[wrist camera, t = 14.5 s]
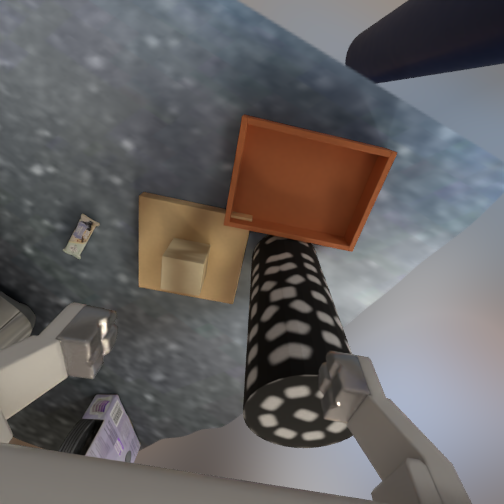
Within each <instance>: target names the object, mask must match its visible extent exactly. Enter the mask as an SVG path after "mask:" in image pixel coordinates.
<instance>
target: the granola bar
mask: <svg viewBox="0 0 504 504" xmlns="http://www.w3.org/2000/svg"><path fill="white" fill-rule="evenodd" d="M99 224H100V223H98V222H95V221H94V220H92V219H90V218H89V217H87V216H86V215H84V214H82V215H81V219H80V220H79V222H78V224H77V226H76V228H75V230H74V232H73V234H72V236H71V238H70V240H69V242H68V244H67V246H66V248H65V249H63V251H64V252H66V253H68V254H71V255H73V256H74V257H76V258H78V259H80V258H81V256H80V254H81V252H82V251H83V249H84V247H85V245H86V243H87V242H88V240H89V238H90V236H91V234H92V232H93V230H94V229H95V227H96V226H99Z"/></svg>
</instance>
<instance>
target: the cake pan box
mask: <svg viewBox="0 0 504 504" xmlns="http://www.w3.org/2000/svg"><path fill="white" fill-rule="evenodd" d="M140 445H141V444H140V442H139V441H138V438H137V436H136V434H135V432H134V430H133V425H132V423H131V421H130V419H129V417H128V415H127V414H126V412H125V410H124V408H123V406H122V403H121V401H120V399H119V396H118V395H117V394H96V396H95V397H94V399H93V401H92V402H91V404H90V406H89V407H88V409H87V410H86V412H85V414H84V416H83V417H82V419H81V420H80V421H79V422H78V423H77V424H76V425H75V427H74V428H73V429H72V430H71V431H70V433H69V434H68V436H67V437H66V439H65V441H64V442H63V444H62V445H61V447H60V449H59V451H58V452H65V453H71V454H78V455H84V456H90V457H97V458H103V459H110V460H116V461H122V462H129V463H134V461H135V458H136V455H137V453H138V451H139V448H140Z"/></svg>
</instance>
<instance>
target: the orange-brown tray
mask: <svg viewBox="0 0 504 504" xmlns="http://www.w3.org/2000/svg"><path fill="white" fill-rule="evenodd" d="M396 155H397V152H395V151H392V150H389V149H387V148H383V147H379V146H375V145H371V144H366V143H362V142H358V141H354V140H350V139H345V138H341V137H337V136H333V135H329V134H324V133H320V132H316V131H312V130H308V129H303V128H299V127H295V126H291V125H287V124H282V123H278V122H274V121H270V120H266V119H261V118H257V117H253V116H249V115H245V114H244V115H243V116H242V120H241V126H240V132H239V138H238V143H237V149H236V155H235V161H234V167H233V172H232V178H231V184H230V190H229V196H228V201H227V207H226V213H225V219H224V225H225V226H230V227H235V228H240V229H244V230H249V231H254V232H259V233H264V234H269V235H274V236H279V237H283V238H288V239H293V240H298V241H303V242H308V243H313V244H318V245H322V246H327V247H332V248H337V249H342V250H348V251H353V249H354V247H355V245H356V242H357V240H358V238H359V236H360V234H361V231H362V229H363V227H364V225H365V223H366V220H367V218H368V216H369V214H370V212H371V209H372V207H373V205H374V203H375V201H376V199H377V196H378V194H379V192H380V190H381V188H382V185H383V183H384V181H385V179H386V177H387V174H388V172H389V170H390V168H391V166H392V163H393V161H394V159H395V157H396ZM232 211H234V212H239V213H243V214H248V215H252V216H253V217H252V222H251V221H246V220H241V219H237V218H232V217H231V213H232Z"/></svg>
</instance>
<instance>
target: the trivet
mask: <svg viewBox="0 0 504 504" xmlns="http://www.w3.org/2000/svg"><path fill="white" fill-rule="evenodd" d="M225 213H226V209H223V208H218V207H213V206H208V205H204V204H199V203H194V202H189V201H185V200H180V199H175V198H170V197H166V196H161V195H156V194H151V193H146V192H143V193H142V194H141V195H139V287H142V288H147V289H153V290H158V291H164V292H169V293H175V294H180V295H186V296H191V297H196V298H202V299H207V300H213V301H218V302H224V303H229V304H233V302H234V298H235V293H236V289H237V285H238V280H239V276H240V272H241V267H242V263H243V258H244V254H245V250H246V245H247V241H248V236H249V232H250V231H249V230H244V229H240V228H235V227H230V226H225V225H224V219H225ZM231 217H232V218H237V219H241V220H246V221H251V222H252V217H253V216H252V215H248V214H243V213H239V212H234V211H232V213H231ZM173 238H179V239H184V240H189V241H194V242H199V243H204V244H209V245H211V246H210V253H209V260H208V266H207V273H206V277H205V280H204V283H203V286H202V289H201V292H200V295H199V296H196V295H191V294H185V293H180V292H174V291H169V290H163V289H160V287H161V268H162V256H163V254H164V252H165V251H166V249H167V248H168V246H169V245H170V243H171V242H172V240H173Z"/></svg>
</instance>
